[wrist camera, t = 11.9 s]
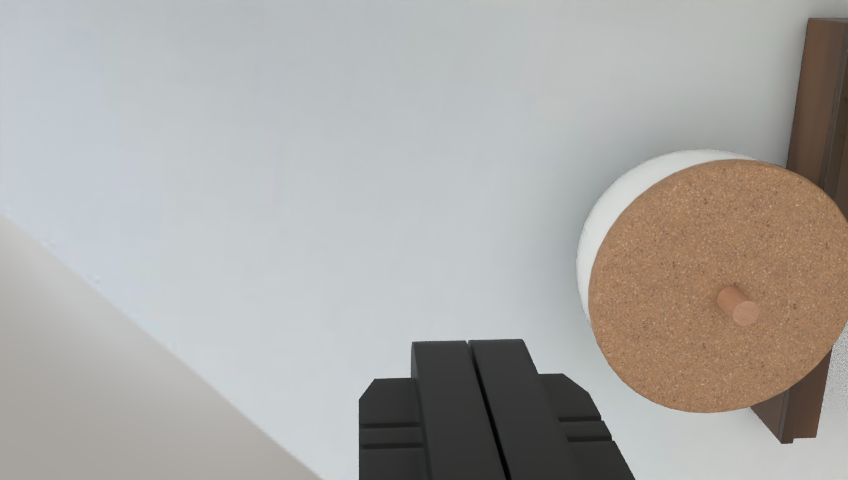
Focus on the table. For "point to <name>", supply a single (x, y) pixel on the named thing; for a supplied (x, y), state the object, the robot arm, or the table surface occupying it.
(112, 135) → the table surface
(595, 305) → the trinket box
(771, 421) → the rail
